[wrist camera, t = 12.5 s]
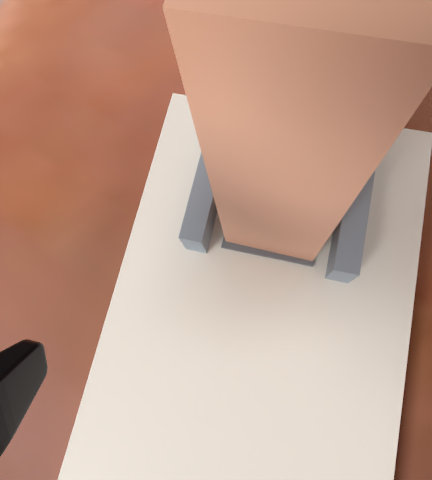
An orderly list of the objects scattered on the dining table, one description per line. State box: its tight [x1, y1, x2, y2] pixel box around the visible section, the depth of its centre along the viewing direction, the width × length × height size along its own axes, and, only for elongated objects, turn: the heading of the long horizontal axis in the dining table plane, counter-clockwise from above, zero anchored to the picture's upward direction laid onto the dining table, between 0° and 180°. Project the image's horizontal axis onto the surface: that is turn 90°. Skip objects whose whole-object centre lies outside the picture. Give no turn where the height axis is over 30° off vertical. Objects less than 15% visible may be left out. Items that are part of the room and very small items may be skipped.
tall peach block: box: [162, 0, 432, 261], centre depth 12 cm, size 5×4×13 cm
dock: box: [58, 93, 432, 480], centre depth 17 cm, size 20×13×4 cm, turn 167°
